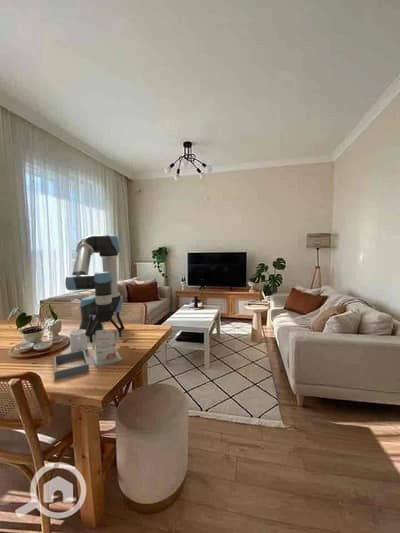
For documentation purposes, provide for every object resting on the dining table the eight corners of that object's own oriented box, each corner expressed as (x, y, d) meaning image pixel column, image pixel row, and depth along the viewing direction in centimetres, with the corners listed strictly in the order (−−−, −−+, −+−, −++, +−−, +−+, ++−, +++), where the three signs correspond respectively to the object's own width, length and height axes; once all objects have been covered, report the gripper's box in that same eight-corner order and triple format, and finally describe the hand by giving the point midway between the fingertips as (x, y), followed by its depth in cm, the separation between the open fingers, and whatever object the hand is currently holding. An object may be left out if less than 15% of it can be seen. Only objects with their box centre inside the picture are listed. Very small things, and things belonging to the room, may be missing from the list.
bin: (54, 363, 122) (54, 356, 121) (84, 356, 128) (84, 349, 128) (54, 380, 106) (54, 372, 105) (89, 371, 112) (88, 364, 112)
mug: (88, 353, 132) (87, 334, 131) (71, 357, 128) (70, 337, 127) (86, 346, 142) (85, 328, 141) (70, 349, 138) (69, 331, 137)
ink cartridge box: (116, 354, 128) (115, 326, 127) (114, 358, 123) (112, 329, 122) (99, 355, 127) (97, 327, 126) (96, 360, 122) (94, 330, 121)
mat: (92, 357, 127) (92, 355, 127) (116, 351, 133) (116, 350, 133) (95, 366, 117) (95, 365, 117) (121, 360, 123) (121, 358, 123)
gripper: (78, 308, 114) (81, 354, 115) (129, 301, 125) (131, 343, 127) (77, 304, 120) (79, 348, 122) (126, 298, 132) (127, 339, 134)
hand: (106, 346), depth 125 cm, fingers open, 11 cm apart
